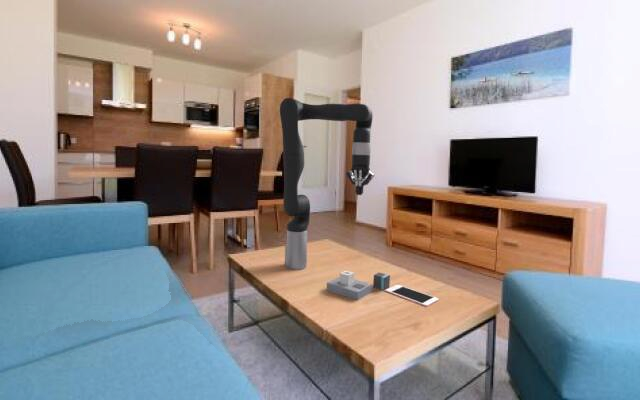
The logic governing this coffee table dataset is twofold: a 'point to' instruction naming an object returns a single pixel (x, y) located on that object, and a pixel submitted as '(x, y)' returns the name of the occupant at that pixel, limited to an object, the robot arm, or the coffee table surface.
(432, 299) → the cell phone
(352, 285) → the outlet
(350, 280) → the block
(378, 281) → the grey and blue block
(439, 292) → the coffee table surface
